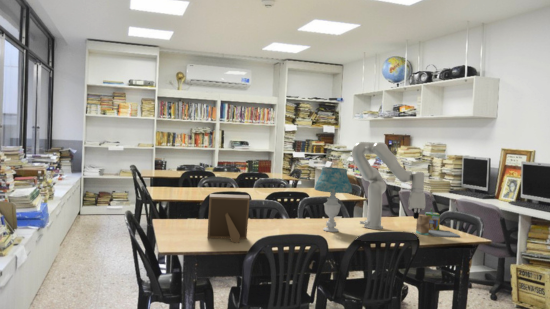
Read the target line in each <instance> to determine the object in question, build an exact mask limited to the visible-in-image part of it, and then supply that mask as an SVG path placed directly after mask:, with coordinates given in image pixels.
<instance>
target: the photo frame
mask: <svg viewBox="0 0 550 309" xmlns="http://www.w3.org/2000/svg"><path fill="white" fill-rule="evenodd" d="M250 197H251V196H250V195H249V194H226V193H225V194H223V193H209V198H208V199H209V201H208V204H209V205H208V218H207V220H208V221H207V239H226V240H227V239H230V242H232V243H236V244H240V240H247V237H248V236H247V235H248V225H249V213H250V212H249V210H250V201H251V200H250V199H251V198H250Z"/></svg>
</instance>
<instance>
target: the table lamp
mask: <svg viewBox="0 0 550 309" xmlns="http://www.w3.org/2000/svg"><path fill="white" fill-rule="evenodd" d="M314 190H315V191H318V192H323V193H330V196H329V197H327V198H326V200H327V201H326V202H324V203H323V206H324V213H325V215H326V216H327V217H328V220H326V223H325V225H326V227H323V228H322V230H323V231H325V232H329V233H330V232H331V233H338V232H339V231H340V230H339V229H338V228H336V226H337V222H336V221H335V217H336V216H338V215H339V213H340V208H341V206H342V204H341V203H339V198H338V197H337V196H336V194H349V193H350V194H351V193H352V192H353V188H352V184H351V182H350V179H349V177H348V169H347V168H344V167H343V168H341V167H327V166H326V167H322V168H321V173H320V176H319V177H318V179H317V181H316V182H315V185H314Z"/></svg>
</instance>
